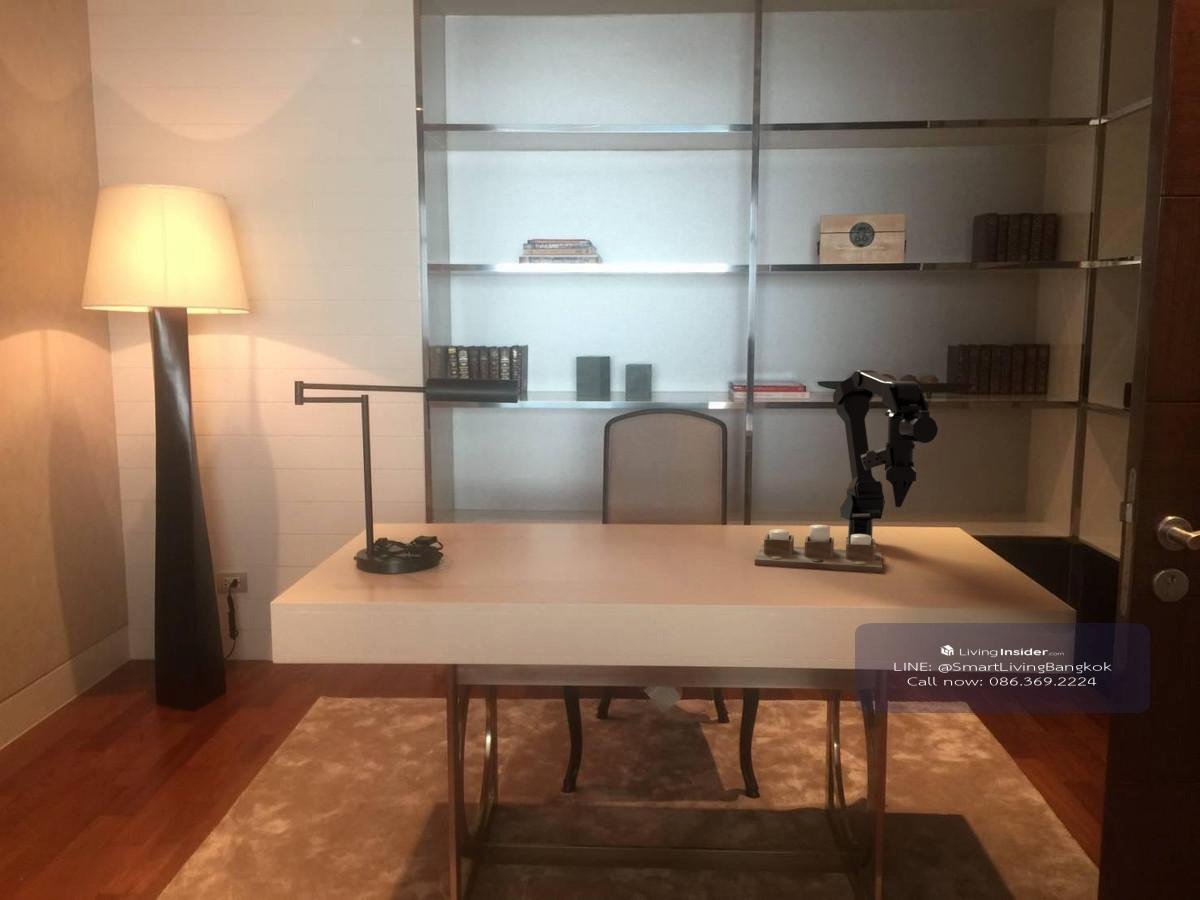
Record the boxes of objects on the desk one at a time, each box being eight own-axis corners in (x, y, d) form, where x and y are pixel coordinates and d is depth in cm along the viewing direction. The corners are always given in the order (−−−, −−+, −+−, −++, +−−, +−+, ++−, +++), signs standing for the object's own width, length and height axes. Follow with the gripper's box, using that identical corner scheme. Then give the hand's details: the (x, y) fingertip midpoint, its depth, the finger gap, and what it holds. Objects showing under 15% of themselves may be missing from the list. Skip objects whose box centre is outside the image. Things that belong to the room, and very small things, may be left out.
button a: (850, 550, 213) (850, 533, 213) (870, 552, 212) (871, 534, 212) (850, 555, 209) (850, 537, 209) (870, 556, 208) (871, 538, 207)
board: (761, 549, 222) (761, 531, 222) (880, 556, 215) (881, 537, 215) (754, 564, 208) (755, 544, 208) (881, 572, 201) (882, 552, 201)
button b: (809, 541, 215) (810, 524, 215) (829, 542, 214) (830, 525, 214) (808, 545, 211) (809, 528, 211) (829, 546, 210) (829, 529, 210)
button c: (770, 545, 218) (770, 528, 218) (789, 547, 217) (789, 530, 216) (768, 550, 214) (768, 532, 213) (787, 551, 213) (788, 533, 212)
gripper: (863, 432, 221) (861, 498, 223) (863, 441, 203) (860, 512, 205) (913, 434, 218) (910, 500, 220) (917, 443, 200) (914, 515, 202)
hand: (898, 506), depth 212 cm, fingers closed
